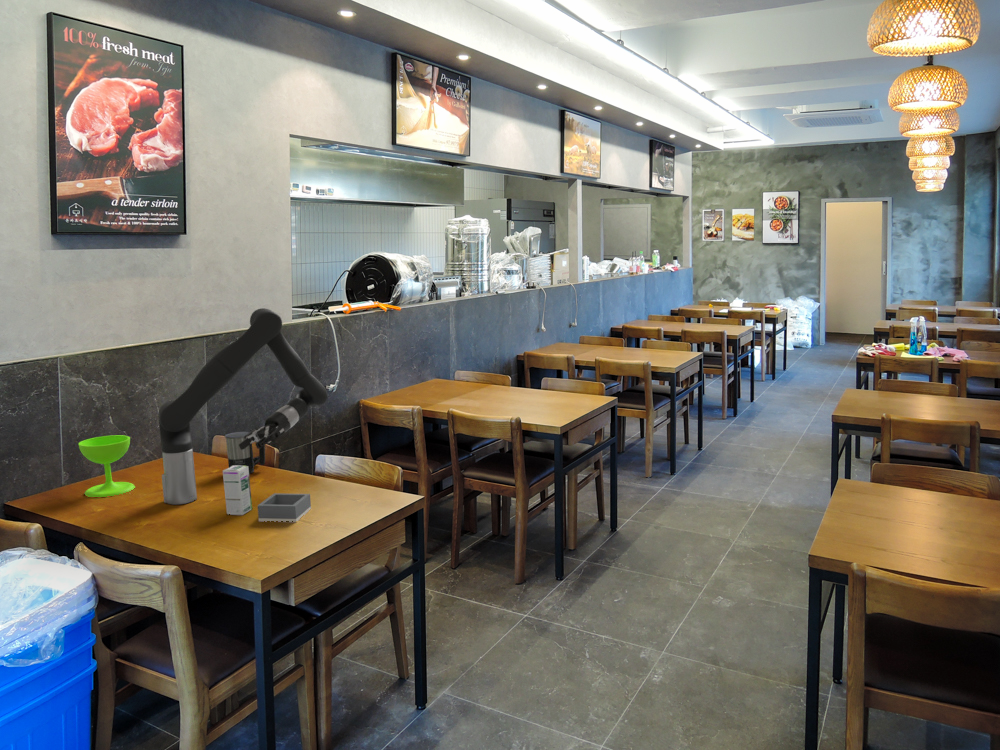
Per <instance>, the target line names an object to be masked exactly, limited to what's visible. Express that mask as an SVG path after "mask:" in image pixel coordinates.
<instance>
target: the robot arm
mask: <svg viewBox="0 0 1000 750" xmlns="http://www.w3.org/2000/svg"><path fill="white" fill-rule="evenodd" d="M249 318H250V319H249V324H250V325H249V327H248V328H247V330H245V332H244V333H243V334H242V335H241V336H240V337H238V338H237V339H236V340H235V341H232V343H230V344H229V345H227V346H225V347H224V348H222V349H221V350H219V351H218V352H217V353H216V354H214V355H213V356H212V358H211V359H210V360H209V361H208V362H206V363H205V364H204V366H203V367H202V368H201V370H200V371H199V372H198V374H196V376H195V378H194V380H193V381H192V382H191V384H190V385H189V387H188V388H187V389H186V390H185V391H183V393H181V394H180V395H179V396H178V397H177V398H176V399H175V400H169V401H166V402H165V403H163V404H162V405H161V407H160V408H159V410H158V425H159V435H160V436H159V437H160V446H161V452H162V453H161V454H162V461H163V462H162V463H163V465H162V466H163V474H161V484H162V485H161V486H162V490H163V491H162V493H163V502H164V503H165V504H168V505H175V506H176V505H183V504H189V503H193V502H195V501H196V500H197V499H198V495H197V494H198V493H197V483H196V482H197V481H196V474H195V471H196V470H195V463H194V462H195V461H194V450H193V441H192V434H191V421H193V419H194V417H195V416H196V415H197V414H198V413H199V411H200V410H201V409H202V408H203V407H204V406H205V405H206V403H208V402H209V401H210V400H211V399H212V398H213V397H214V396H216V395H217V393H219V392H220V391H221V390H222V389H223V388H225V386H226V385H228V384H229V382H231V380H232V379H234V377H235V376H236V375H237V374H238V373H239V372H240V371H241V369H243V368H244V367H245V366H246V365H247V363H249V361H250V360H251V359H252V358H253V356H254V355H256V354H257V352H258V351H260V350H261V349H262V348H263V347H264V346H266V345H267V347H268V348H269V349H270V350H271V352H272V353H273V355H274V357H275V359H277V361H278V362H279V364H280V366H281V367H282V369H283V371H284V372H285V374H286V376H287V377H288V378H289V380H290V382H292V384H293V386H295V387H298V388H301V389H300V390H299V391H298V392H296V394H295V395H294V397H292V400H290V401H289V402H287V403H286V404H285V405H283V406H282V407H280V408H278V409H277V410H276V411H274V412H273V413H272V414H271V415H270V416H268V417H267V418H266V419H265V420H264V426H261V427H260V428H258V427H255V428H253V429H252V430H251V431H248V432H249V433H248V434H247V435H245V436H244V438H245V440H244V441H242V442H241V443H240V444H239V447H240V449H241V450H243V449H245V448H246V447H247V446H249V445H250V444H251V443H252V444H254V443H255V446H256V448H257V449H258V450H259V449H261V448H262V447H263V446H264V445H265V446H266V445H267V444H270V443H271V442H274V443H275V442H276V441H277V440H278V439H279V438H280V437H282V436H283V435H284V434H285V433H287V432H288V431H289V430H290V429H291V428H293V427H294V426H295V425H296V424H297V422H299V421H300V420H301V419H302V418H304V417H305V416H306V415H307V413H309V408H310V407H315V406H316V407H317V406H323V405H325V404H326V403H327V401H328V397H329V393H328V391H327V388H326V387H325V386H324V385H323V383H321V381H320V380H319V379H318V378H317V377H315V376H314V375H313V374H312V373H311V372H310V371H309V369H308V367H307V366H306V364H305V362H304V361H303V360H302V358H301V357H300V355H299V354H298V353H297V352H296V350H295V349H294V348H293V347H292V346H291V344H290V343H289V342H288V340H287V339H286V337H285V336H284V334H283V332H282V328H283V320H282V317H281V316H280V315H279V314H278V313H277V312H275V311H273V310H271V309H269V308H258V309H256V310H254V311H253V312H252V313H251V315H250V317H249ZM257 436H258V437H259V439H258V438H257ZM250 438H251V439H250ZM253 439H254V440H253ZM256 442H257V443H256ZM194 500H195V501H194Z"/></svg>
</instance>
